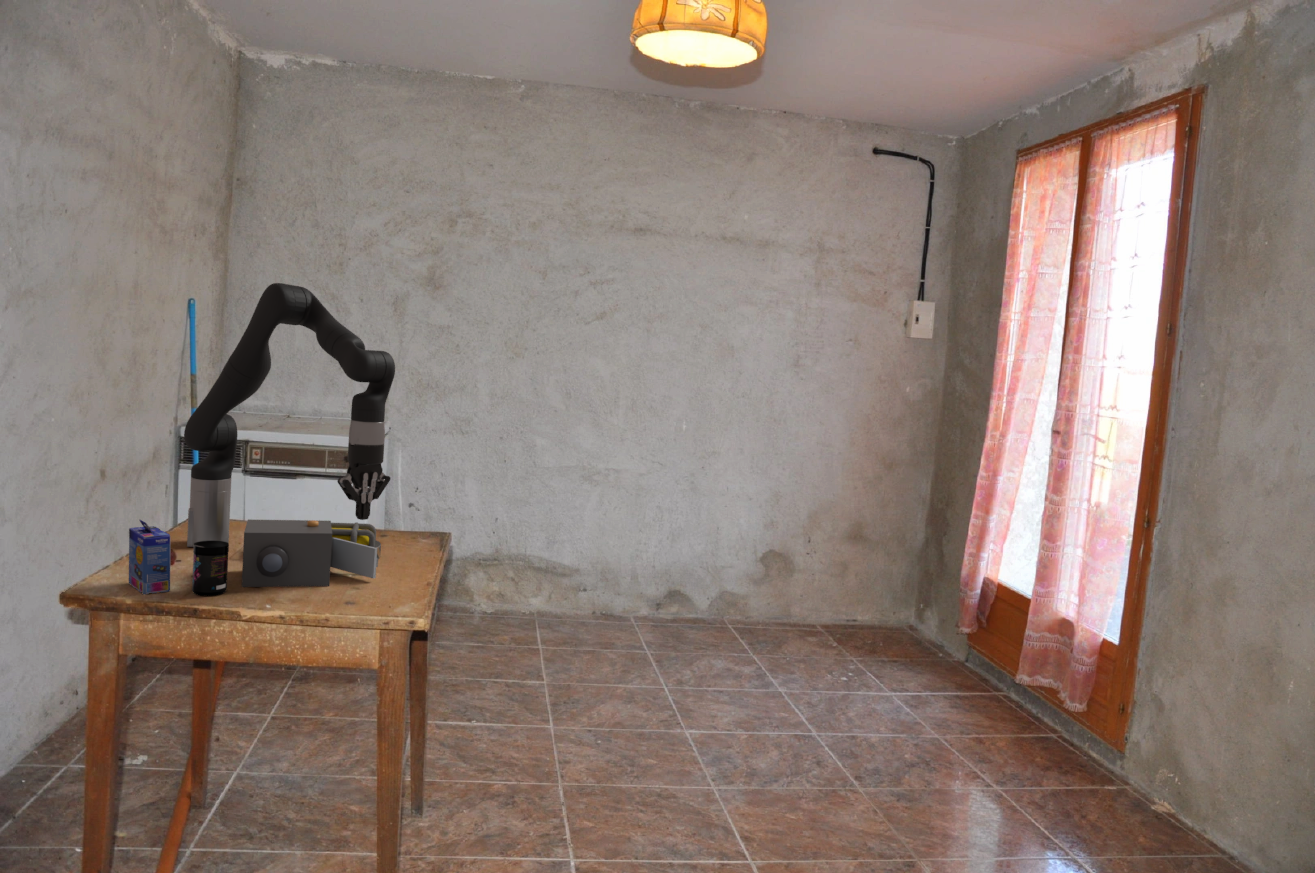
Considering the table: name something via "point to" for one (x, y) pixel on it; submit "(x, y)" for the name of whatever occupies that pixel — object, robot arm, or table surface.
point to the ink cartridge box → (149, 559)
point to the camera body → (286, 553)
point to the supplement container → (210, 568)
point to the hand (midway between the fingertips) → (362, 518)
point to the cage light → (357, 534)
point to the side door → (354, 557)
